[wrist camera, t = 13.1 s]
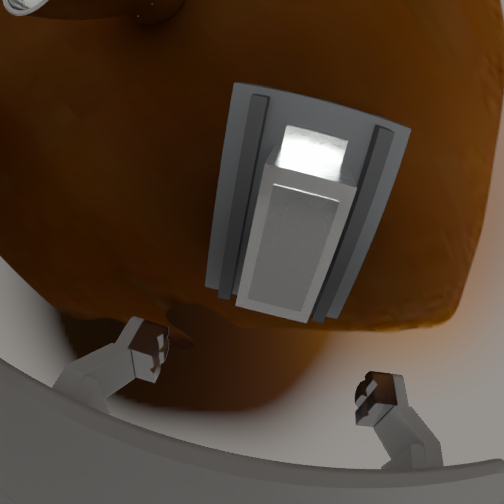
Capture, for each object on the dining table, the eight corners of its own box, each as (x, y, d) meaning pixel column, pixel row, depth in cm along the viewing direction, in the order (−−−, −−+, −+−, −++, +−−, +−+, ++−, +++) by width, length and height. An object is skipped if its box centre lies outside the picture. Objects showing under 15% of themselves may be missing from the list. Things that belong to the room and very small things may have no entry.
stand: (221, 251, 33) (199, 297, 27) (250, 81, 24) (228, 83, 17) (335, 279, 32) (337, 330, 26) (390, 117, 23) (418, 133, 17)
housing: (279, 121, 19) (270, 135, 15) (353, 140, 19) (366, 160, 15) (245, 280, 27) (231, 323, 22) (303, 295, 26) (299, 339, 22)
